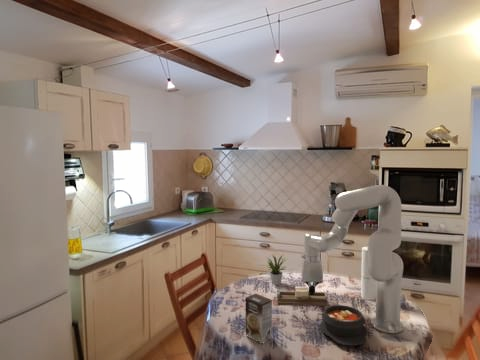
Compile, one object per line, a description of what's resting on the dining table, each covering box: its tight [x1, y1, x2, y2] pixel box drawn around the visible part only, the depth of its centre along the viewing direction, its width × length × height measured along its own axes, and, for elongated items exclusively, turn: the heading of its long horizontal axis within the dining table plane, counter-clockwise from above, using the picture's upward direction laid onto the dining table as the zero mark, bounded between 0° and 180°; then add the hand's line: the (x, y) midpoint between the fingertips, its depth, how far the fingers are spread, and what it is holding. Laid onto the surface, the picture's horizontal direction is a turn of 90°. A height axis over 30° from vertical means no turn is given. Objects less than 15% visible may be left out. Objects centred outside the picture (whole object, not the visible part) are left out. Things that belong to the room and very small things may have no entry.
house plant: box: [266, 254, 288, 286], centre depth 195 cm, size 14×14×16 cm
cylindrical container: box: [360, 246, 377, 301], centre depth 175 cm, size 7×7×25 cm
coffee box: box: [245, 293, 273, 344], centre depth 140 cm, size 9×6×16 cm
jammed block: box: [294, 286, 309, 298], centre depth 174 cm, size 6×6×4 cm
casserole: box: [319, 304, 368, 346], centre depth 142 cm, size 25×19×8 cm
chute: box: [276, 288, 329, 307], centre depth 174 cm, size 12×24×4 cm, turn 85°
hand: (311, 293), depth 174 cm, fingers closed
